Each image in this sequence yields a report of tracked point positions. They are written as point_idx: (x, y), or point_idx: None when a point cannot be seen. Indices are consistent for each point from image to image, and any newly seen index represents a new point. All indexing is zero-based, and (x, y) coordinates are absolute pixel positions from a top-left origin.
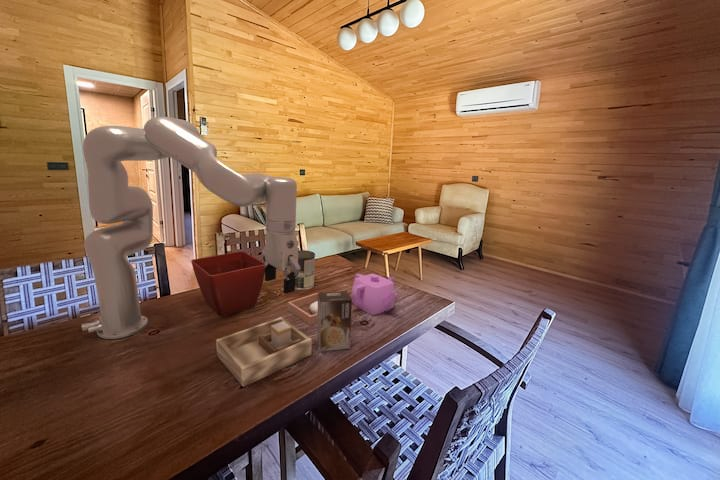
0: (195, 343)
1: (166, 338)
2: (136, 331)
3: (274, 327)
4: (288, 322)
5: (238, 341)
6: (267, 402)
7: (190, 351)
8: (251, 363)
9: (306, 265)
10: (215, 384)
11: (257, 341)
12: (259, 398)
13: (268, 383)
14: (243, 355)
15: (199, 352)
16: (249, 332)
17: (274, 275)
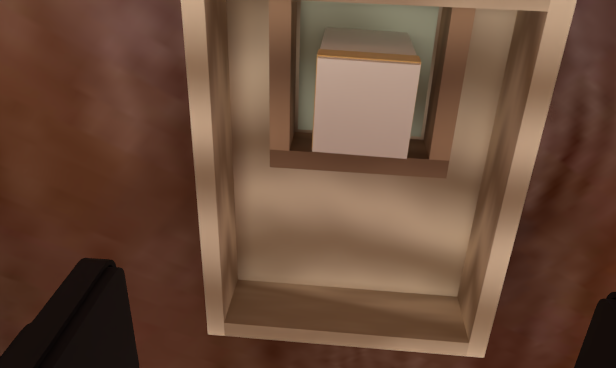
0: None
1: (8, 344)
2: None
3: (348, 150)
4: None
5: (229, 232)
6: (601, 285)
7: (141, 325)
8: (479, 323)
9: None
10: None
11: (250, 140)
12: (561, 292)
13: (526, 236)
14: (312, 234)
15: (166, 309)
16: (220, 195)
17: (100, 326)
